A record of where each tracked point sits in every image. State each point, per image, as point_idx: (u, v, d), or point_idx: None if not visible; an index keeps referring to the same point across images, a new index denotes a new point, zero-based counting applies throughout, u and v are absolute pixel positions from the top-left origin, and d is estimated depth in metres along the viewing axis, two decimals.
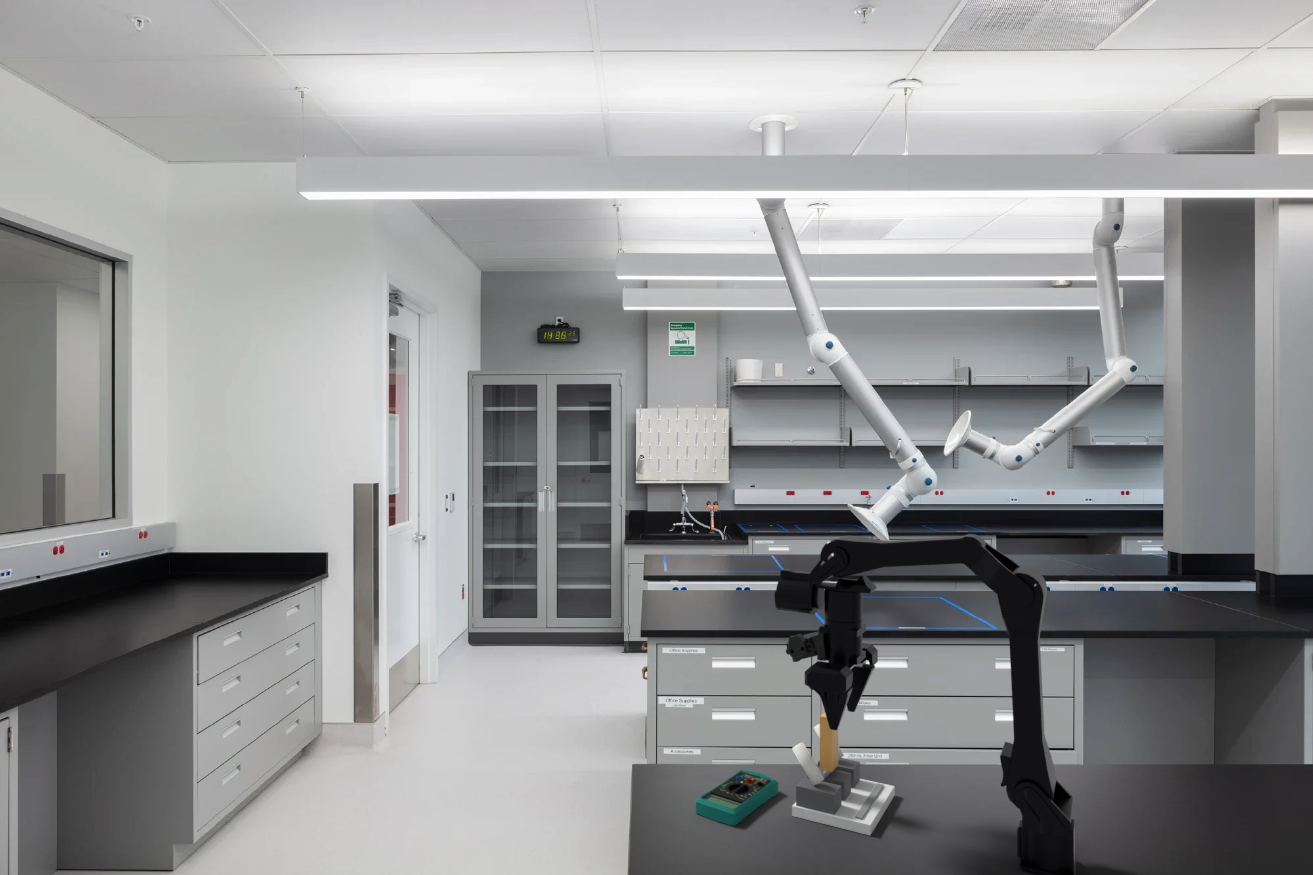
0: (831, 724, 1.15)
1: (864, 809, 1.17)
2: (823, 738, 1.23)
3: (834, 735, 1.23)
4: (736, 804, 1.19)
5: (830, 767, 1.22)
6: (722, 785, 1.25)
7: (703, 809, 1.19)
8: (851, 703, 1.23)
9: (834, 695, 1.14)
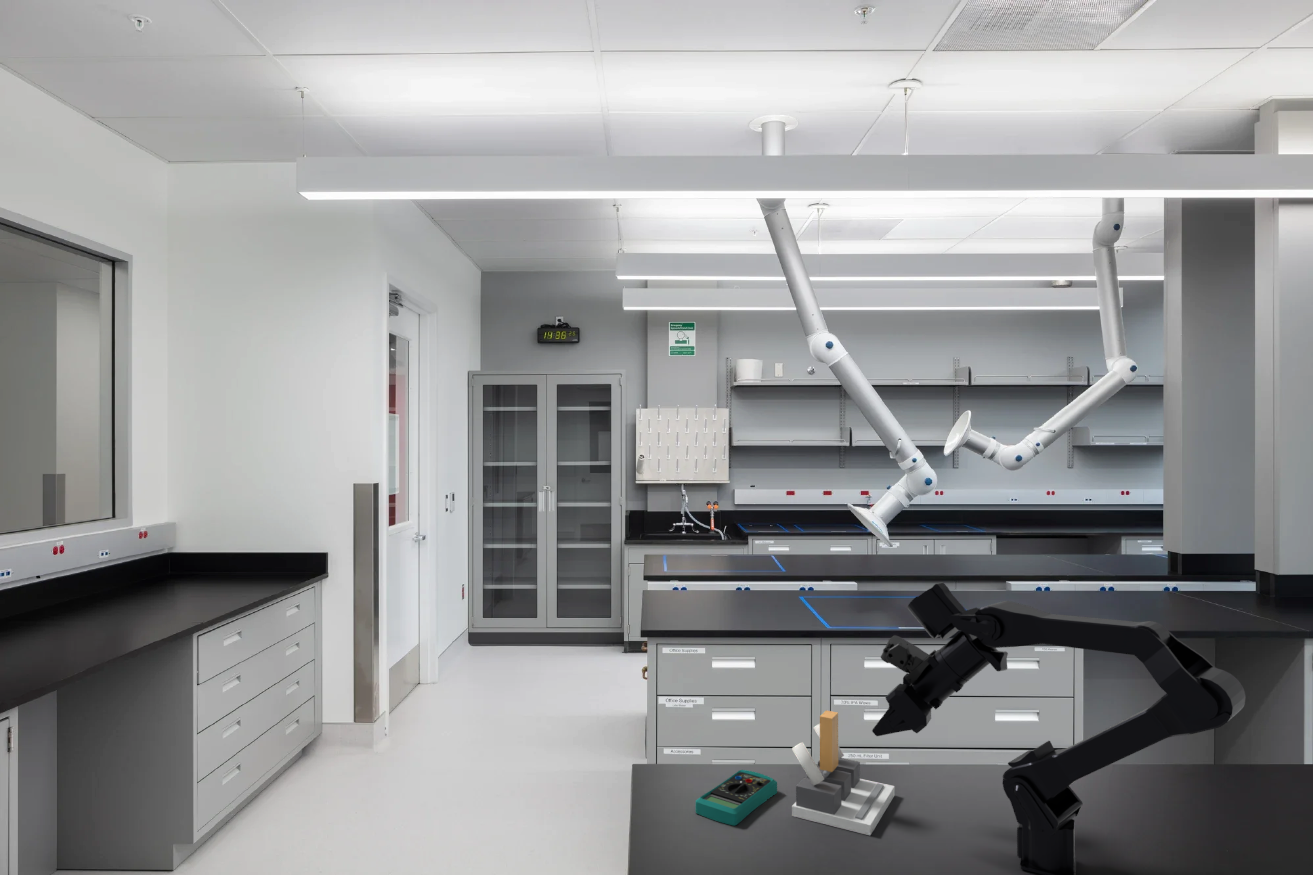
0: (877, 729, 1.16)
1: (864, 809, 1.17)
2: (823, 738, 1.23)
3: (834, 735, 1.23)
4: (737, 804, 1.19)
5: (830, 767, 1.22)
6: (721, 785, 1.25)
7: (704, 809, 1.19)
8: None
9: (900, 716, 1.14)
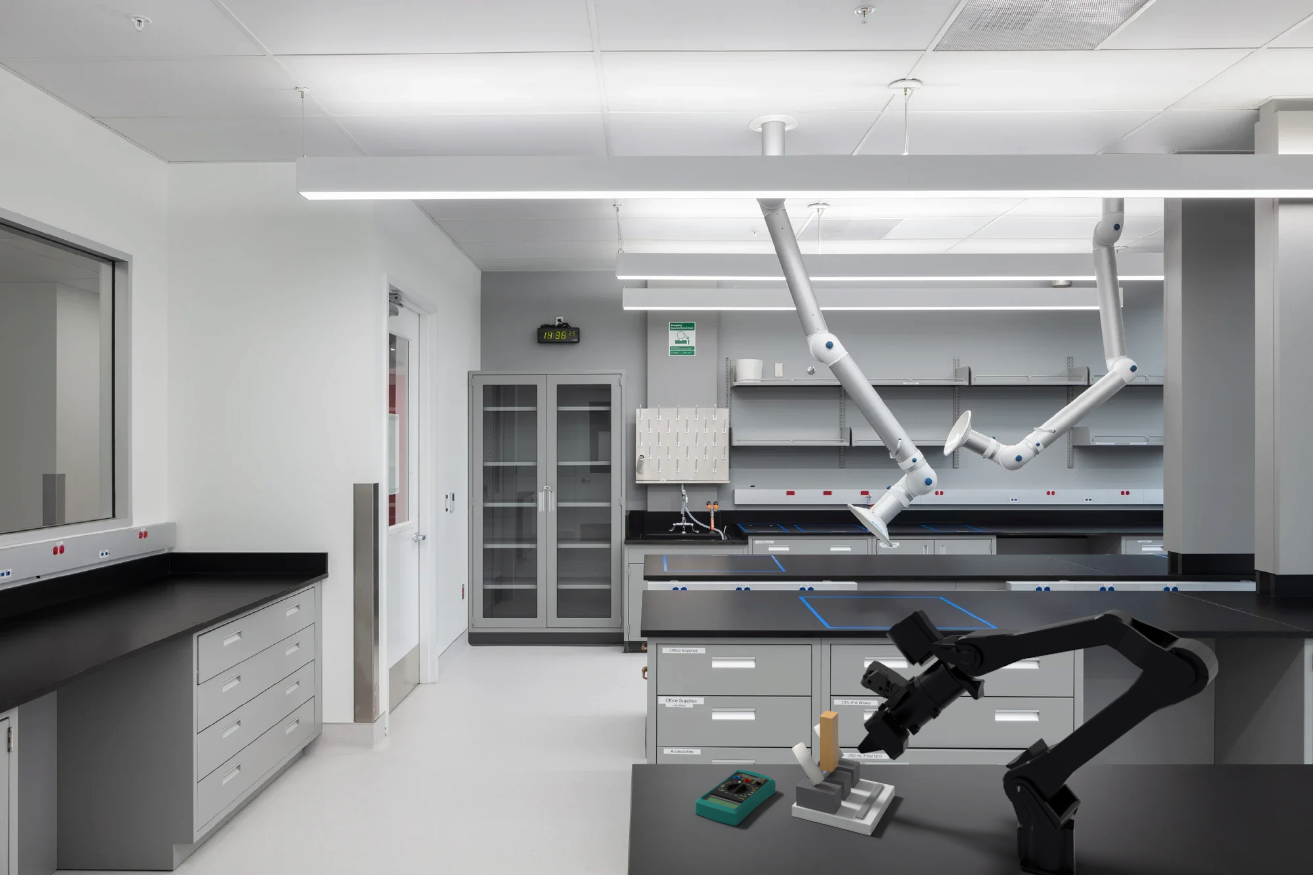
0: (861, 747, 1.21)
1: (864, 809, 1.17)
2: (823, 738, 1.23)
3: (834, 735, 1.23)
4: (737, 804, 1.19)
5: (830, 767, 1.22)
6: (720, 785, 1.25)
7: (704, 810, 1.19)
8: None
9: None
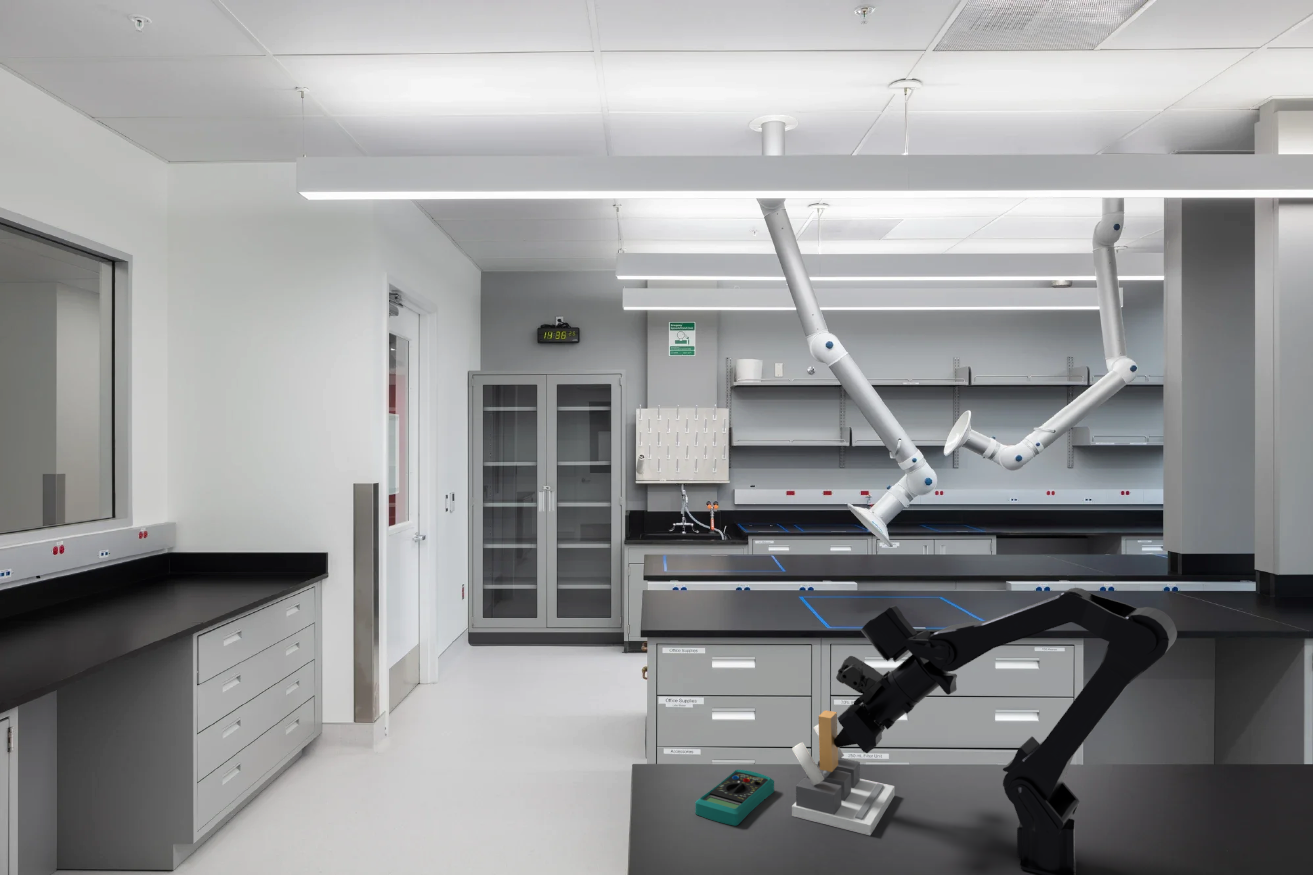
0: (837, 741, 1.23)
1: (864, 809, 1.17)
2: (822, 738, 1.23)
3: (833, 735, 1.23)
4: (737, 804, 1.19)
5: (830, 767, 1.22)
6: (720, 785, 1.25)
7: (704, 810, 1.19)
8: None
9: None
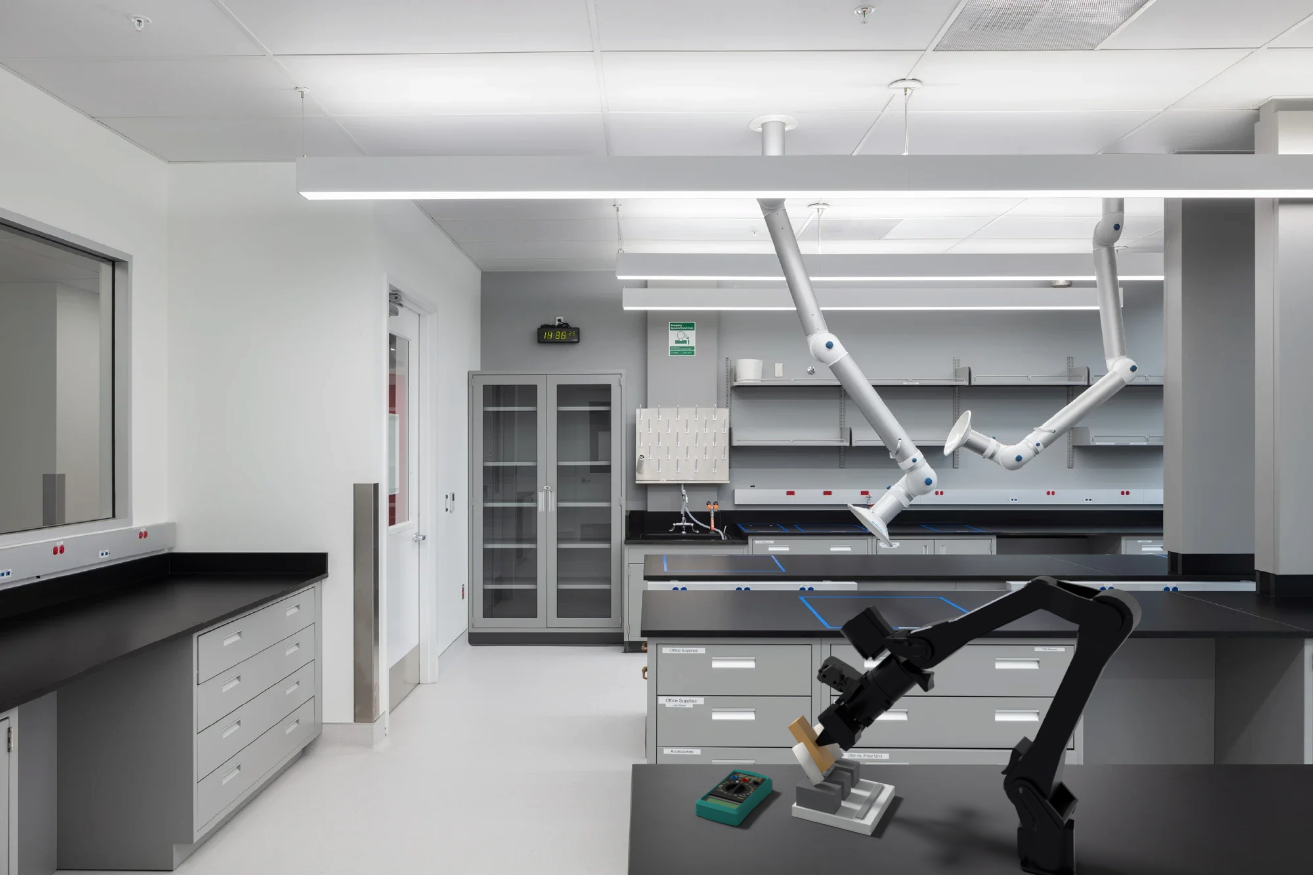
0: (819, 740, 1.24)
1: (864, 809, 1.17)
2: None
3: (810, 735, 1.25)
4: (737, 804, 1.19)
5: (825, 765, 1.23)
6: (719, 786, 1.25)
7: (704, 811, 1.18)
8: None
9: None
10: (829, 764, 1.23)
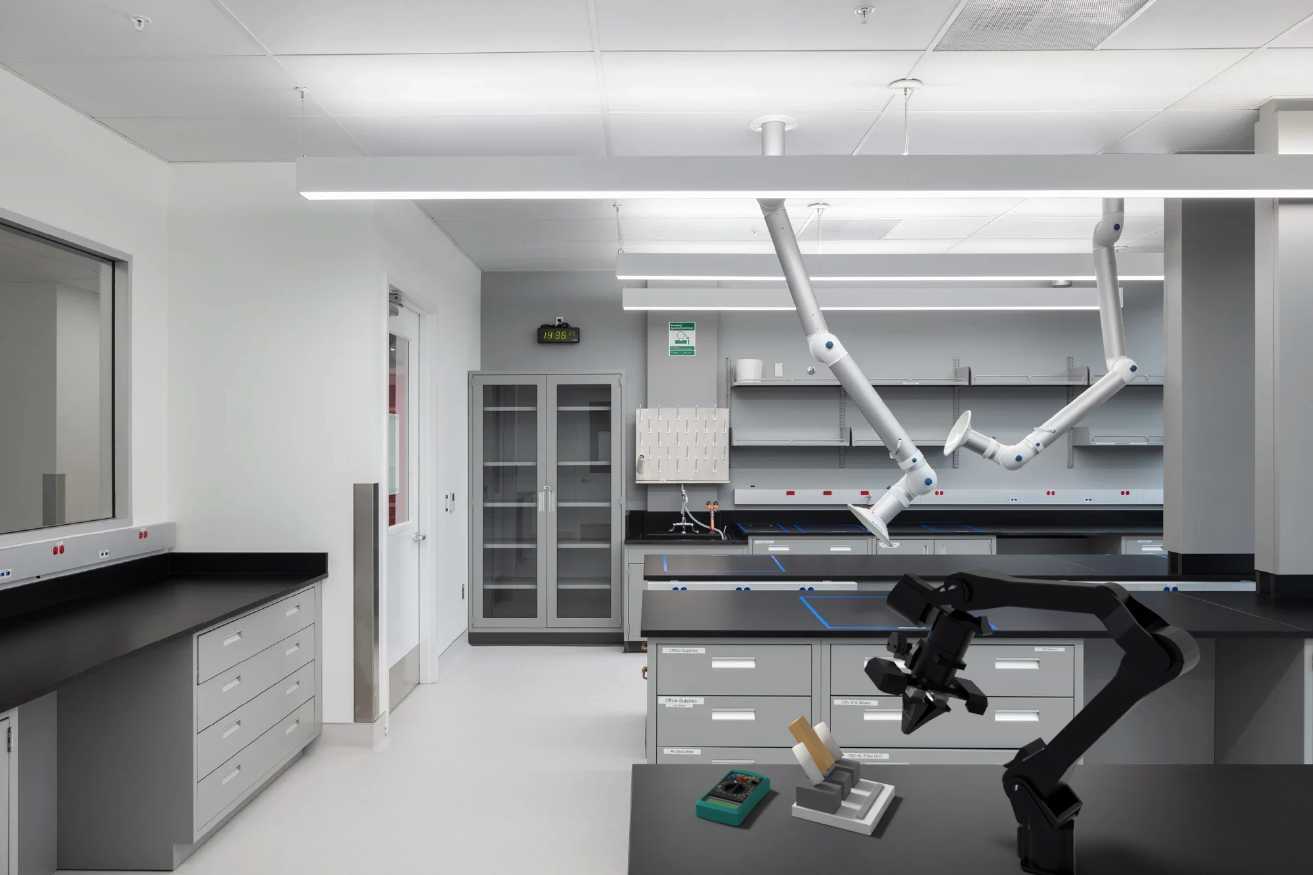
0: (902, 726, 1.19)
1: (864, 809, 1.17)
2: None
3: (810, 735, 1.25)
4: (737, 804, 1.19)
5: (825, 765, 1.23)
6: (717, 786, 1.25)
7: (705, 811, 1.18)
8: None
9: None
10: (829, 764, 1.23)
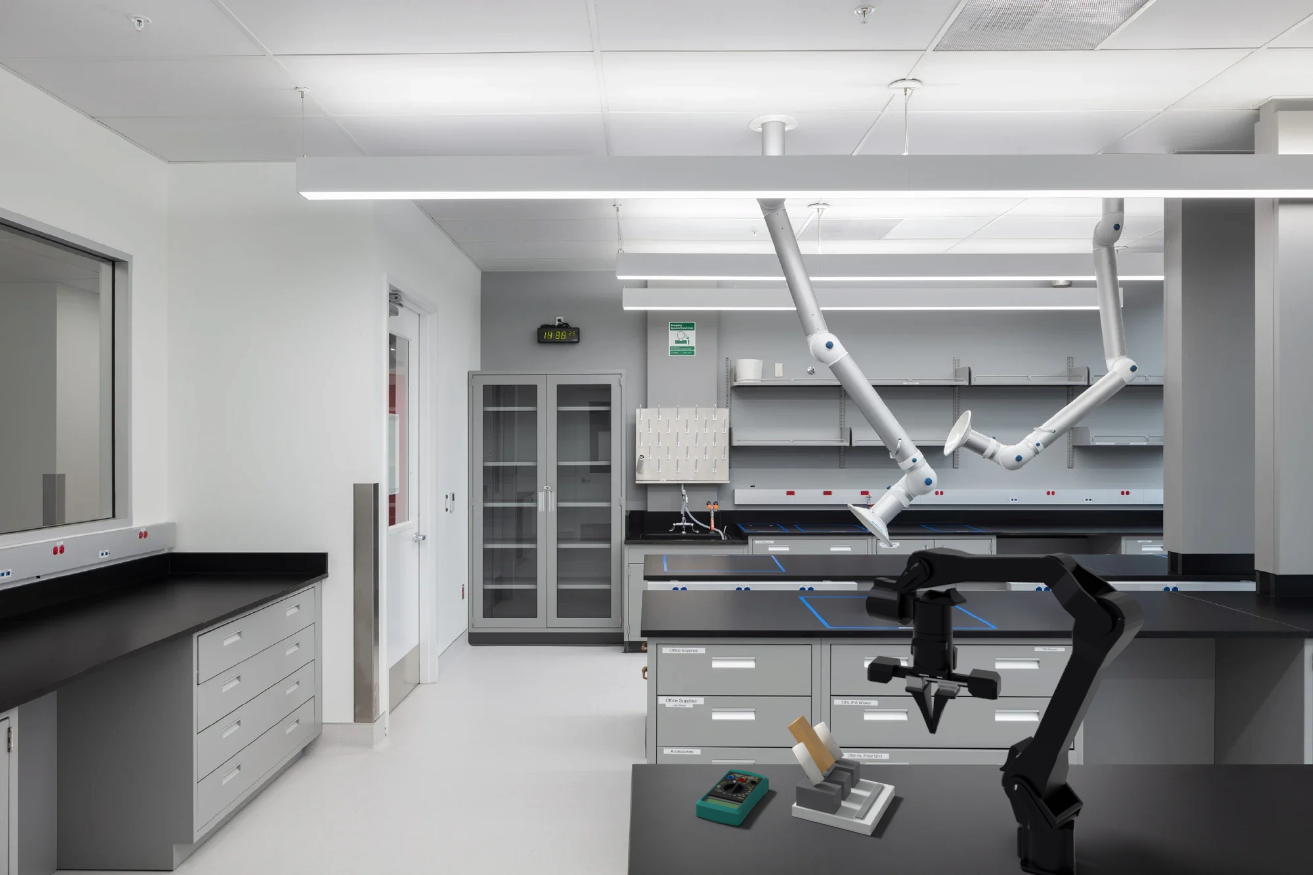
0: None
1: (864, 809, 1.17)
2: None
3: (810, 735, 1.25)
4: (737, 804, 1.19)
5: (825, 765, 1.23)
6: (717, 786, 1.25)
7: (705, 812, 1.18)
8: None
9: None
10: (829, 764, 1.23)
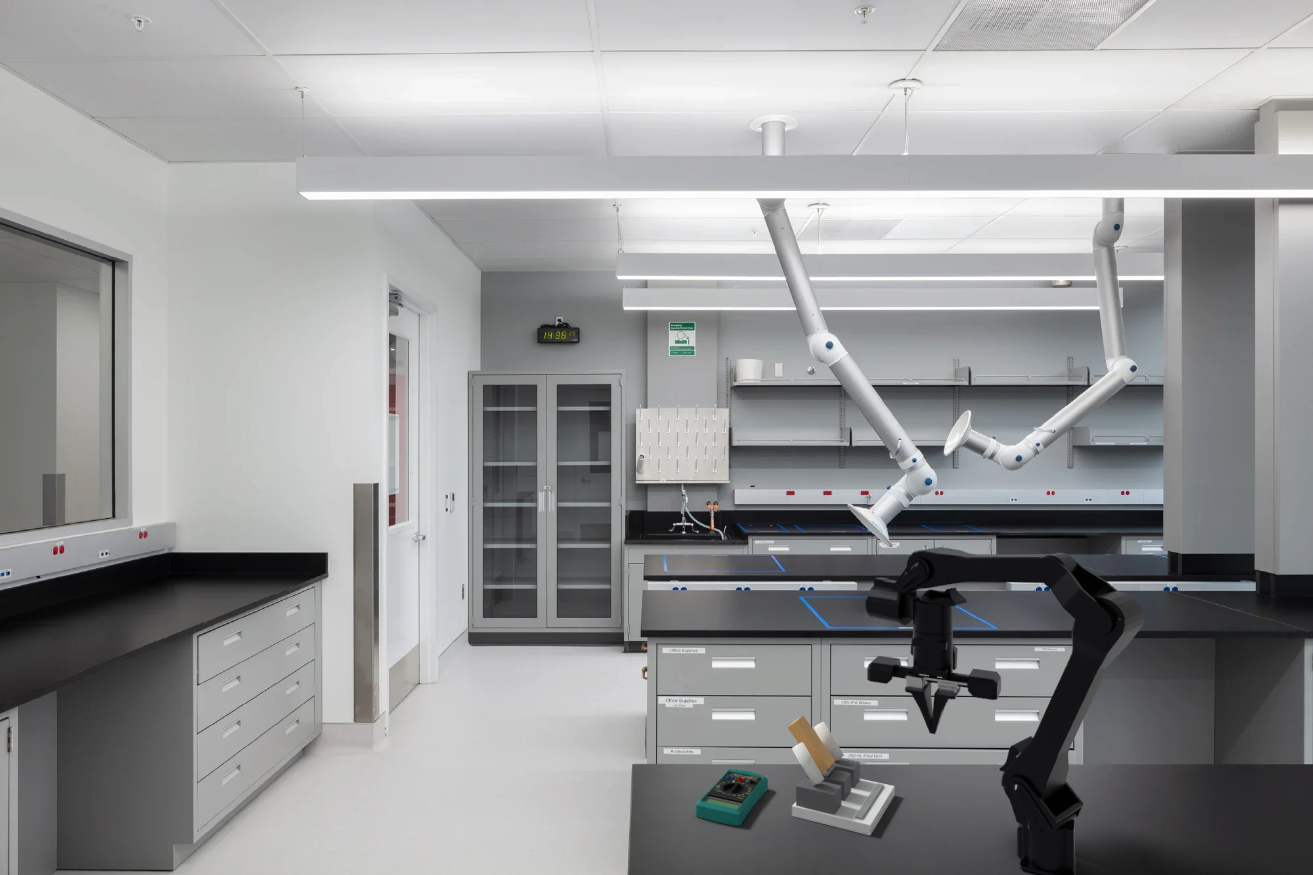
0: None
1: (864, 809, 1.17)
2: None
3: (810, 735, 1.25)
4: (737, 804, 1.19)
5: (825, 765, 1.23)
6: (716, 786, 1.25)
7: (705, 812, 1.18)
8: None
9: None
10: (829, 764, 1.23)
